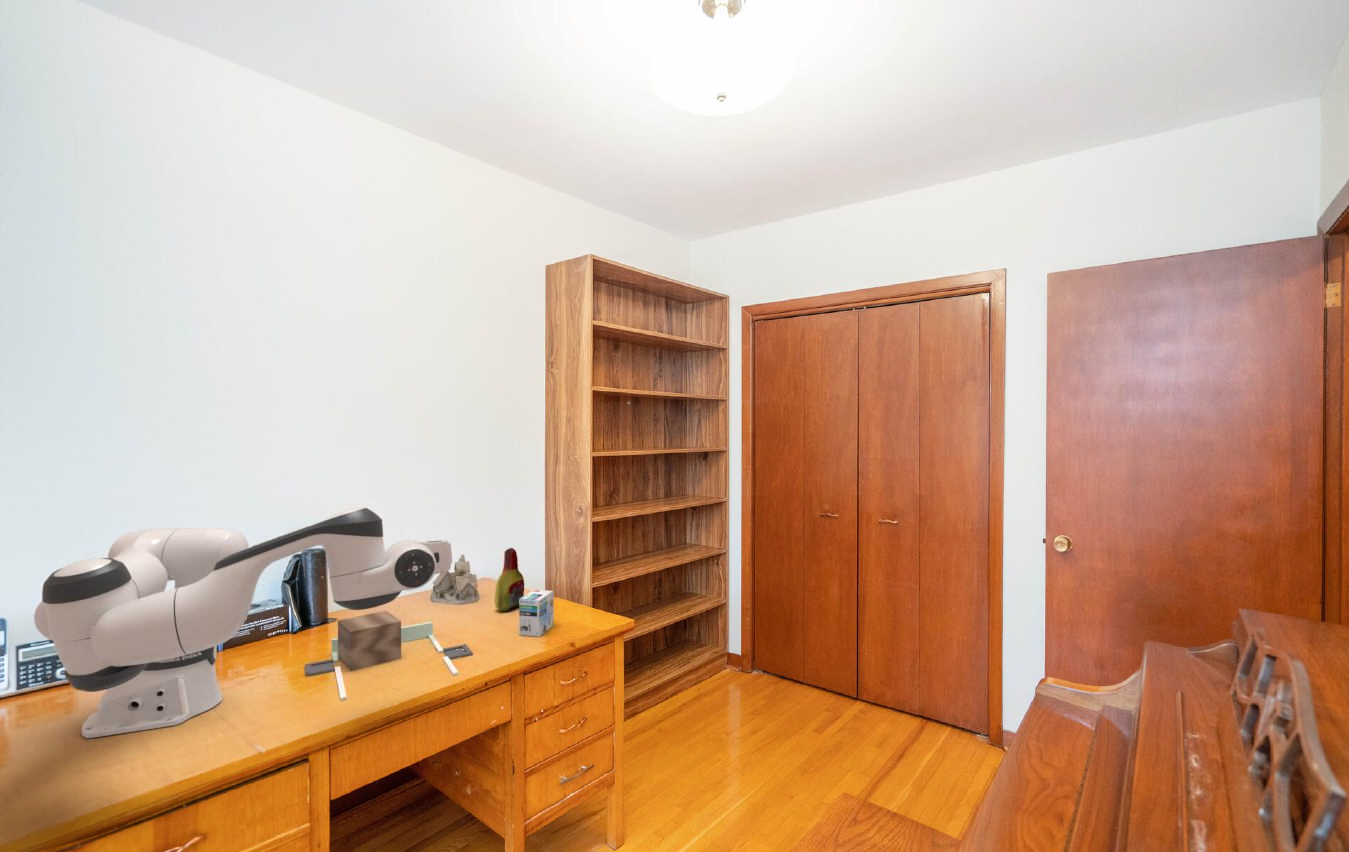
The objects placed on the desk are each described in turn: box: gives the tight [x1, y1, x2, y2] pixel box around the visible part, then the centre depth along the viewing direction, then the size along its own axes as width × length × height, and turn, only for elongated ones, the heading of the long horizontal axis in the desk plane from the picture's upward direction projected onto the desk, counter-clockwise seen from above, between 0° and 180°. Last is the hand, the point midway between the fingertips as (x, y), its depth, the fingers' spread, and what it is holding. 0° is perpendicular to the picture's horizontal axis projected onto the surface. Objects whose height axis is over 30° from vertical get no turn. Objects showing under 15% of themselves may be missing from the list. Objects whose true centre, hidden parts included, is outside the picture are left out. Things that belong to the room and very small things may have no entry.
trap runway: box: [304, 621, 474, 701], centre depth 153 cm, size 38×32×4 cm
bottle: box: [494, 547, 525, 612], centre depth 199 cm, size 12×6×20 cm, turn 150°
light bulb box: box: [518, 589, 555, 638], centre depth 178 cm, size 11×7×11 cm, turn 168°
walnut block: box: [337, 610, 402, 672], centre depth 157 cm, size 12×12×10 cm
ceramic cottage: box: [429, 554, 480, 606], centre depth 210 cm, size 16×16×15 cm
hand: (399, 557), depth 135 cm, fingers closed
